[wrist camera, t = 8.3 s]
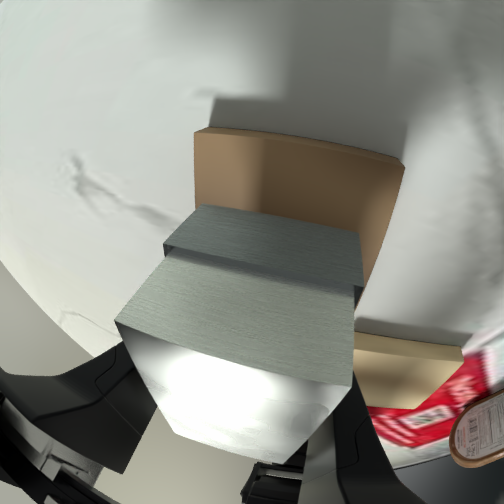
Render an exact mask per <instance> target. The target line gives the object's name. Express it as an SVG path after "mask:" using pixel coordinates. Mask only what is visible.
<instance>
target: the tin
mask: <svg viewBox="0 0 504 504" xmlns="http://www.w3.org/2000/svg"><path fill="white" fill-rule="evenodd" d="M449 447H450V453H451V456H452V458H453V459H454V460H455V462H456V463H458V464H459V465H461V466H463V467H468V468H474V467H479V466H482V465H485V464H487V463H490V462H493V461H495V460H497V459H500V458H502V457H504V389H503V390H501V391H499V392H497V393H495V394H492V395H490V396H488V397H486V398H484V399H481V400H479V401H477V402H475V403H473V404H471V405H470V406H468V407H467V408H466V409H465V410H464V411H463V412H462V413H461V414H460V415H459V416H458V418H457V419H456V421H455V423H454V424H453V427H452V429H451V432H450V437H449Z"/></svg>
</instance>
